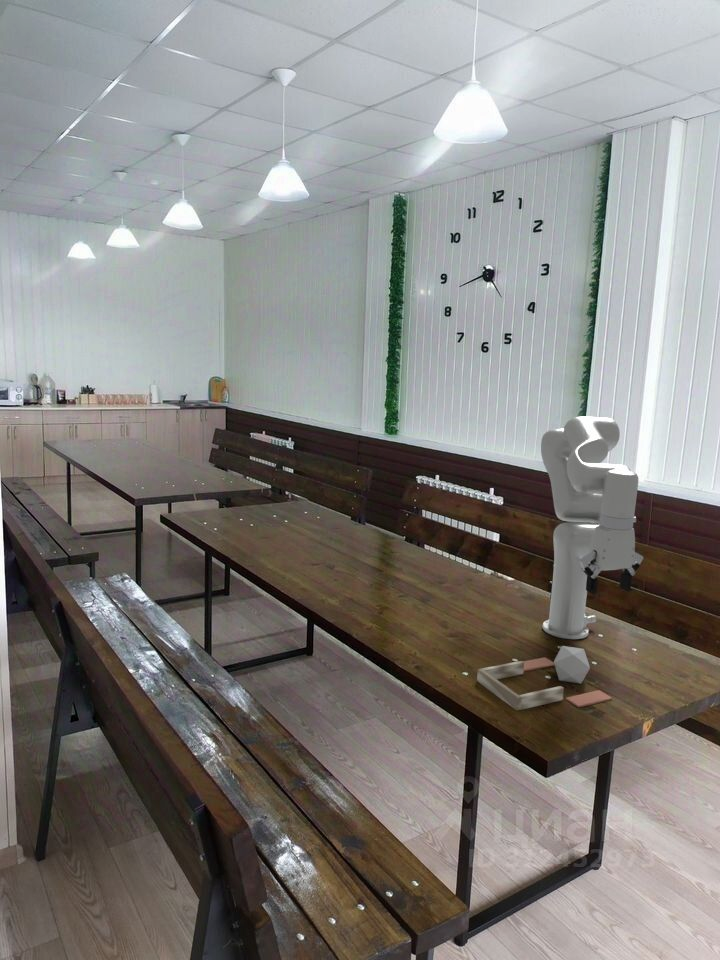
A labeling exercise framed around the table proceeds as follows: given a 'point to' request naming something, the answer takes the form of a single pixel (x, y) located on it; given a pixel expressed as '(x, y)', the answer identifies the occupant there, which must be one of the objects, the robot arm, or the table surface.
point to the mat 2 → (588, 698)
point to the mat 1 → (537, 664)
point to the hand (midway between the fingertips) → (608, 591)
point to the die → (571, 664)
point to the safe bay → (510, 697)
